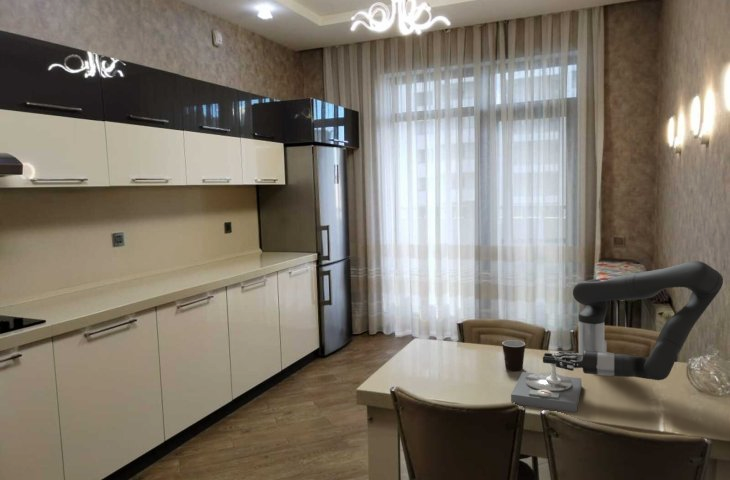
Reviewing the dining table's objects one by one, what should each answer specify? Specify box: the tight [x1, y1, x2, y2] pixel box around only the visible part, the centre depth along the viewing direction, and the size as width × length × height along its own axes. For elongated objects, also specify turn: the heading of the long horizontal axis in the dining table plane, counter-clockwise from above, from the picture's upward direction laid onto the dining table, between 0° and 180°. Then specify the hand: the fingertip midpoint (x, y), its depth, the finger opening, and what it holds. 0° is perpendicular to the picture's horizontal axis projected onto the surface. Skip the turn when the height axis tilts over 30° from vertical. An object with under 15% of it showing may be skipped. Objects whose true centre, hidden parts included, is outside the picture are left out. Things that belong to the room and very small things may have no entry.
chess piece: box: [546, 352, 561, 384], centre depth 175 cm, size 5×5×10 cm
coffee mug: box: [501, 339, 526, 372], centre depth 202 cm, size 12×9×10 cm
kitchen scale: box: [510, 371, 583, 413], centre depth 174 cm, size 22×20×4 cm
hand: (543, 357), depth 176 cm, fingers open, 3 cm apart
